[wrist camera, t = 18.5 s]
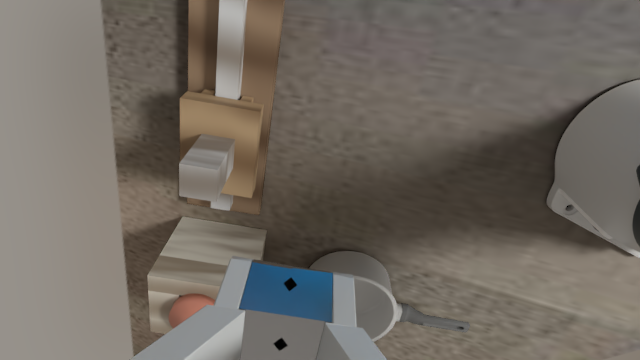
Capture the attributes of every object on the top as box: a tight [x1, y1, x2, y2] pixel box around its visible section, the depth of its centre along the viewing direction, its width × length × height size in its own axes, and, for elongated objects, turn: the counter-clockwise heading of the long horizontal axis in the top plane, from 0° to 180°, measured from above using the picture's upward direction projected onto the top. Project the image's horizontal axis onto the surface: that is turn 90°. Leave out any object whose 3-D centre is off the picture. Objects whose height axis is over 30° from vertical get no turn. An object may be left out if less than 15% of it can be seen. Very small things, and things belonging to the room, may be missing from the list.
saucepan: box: [309, 251, 470, 342], centre depth 49 cm, size 12×20×6 cm, turn 82°
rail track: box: [147, 0, 285, 334], centre depth 35 cm, size 50×10×10 cm, turn 170°
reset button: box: [169, 293, 215, 329], centre depth 42 cm, size 5×5×4 cm
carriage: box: [179, 89, 264, 202], centre depth 36 cm, size 9×7×9 cm
